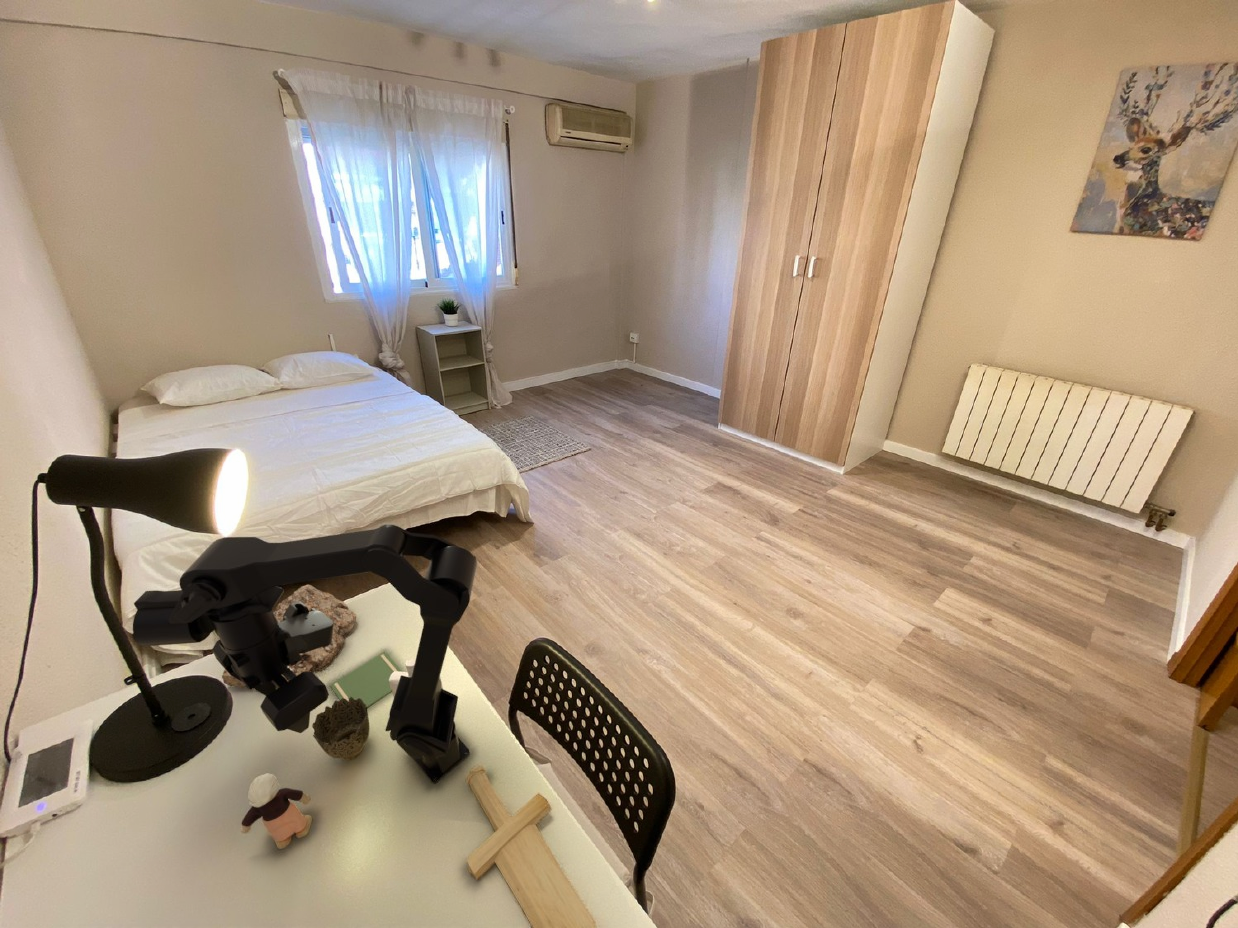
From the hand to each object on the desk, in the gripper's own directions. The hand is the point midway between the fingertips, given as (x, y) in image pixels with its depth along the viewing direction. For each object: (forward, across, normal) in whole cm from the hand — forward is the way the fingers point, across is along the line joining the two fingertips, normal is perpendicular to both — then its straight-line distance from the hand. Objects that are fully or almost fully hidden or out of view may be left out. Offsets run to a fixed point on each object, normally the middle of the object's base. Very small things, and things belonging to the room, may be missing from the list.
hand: (287, 711), depth 70 cm
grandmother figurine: (+14, -6, +6) cm, 16 cm away
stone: (+9, +31, -8) cm, 33 cm away
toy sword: (+12, -21, -13) cm, 28 cm away
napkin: (+14, +7, -13) cm, 20 cm away
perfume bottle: (+14, -5, -16) cm, 21 cm away
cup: (+14, -2, -5) cm, 15 cm away
